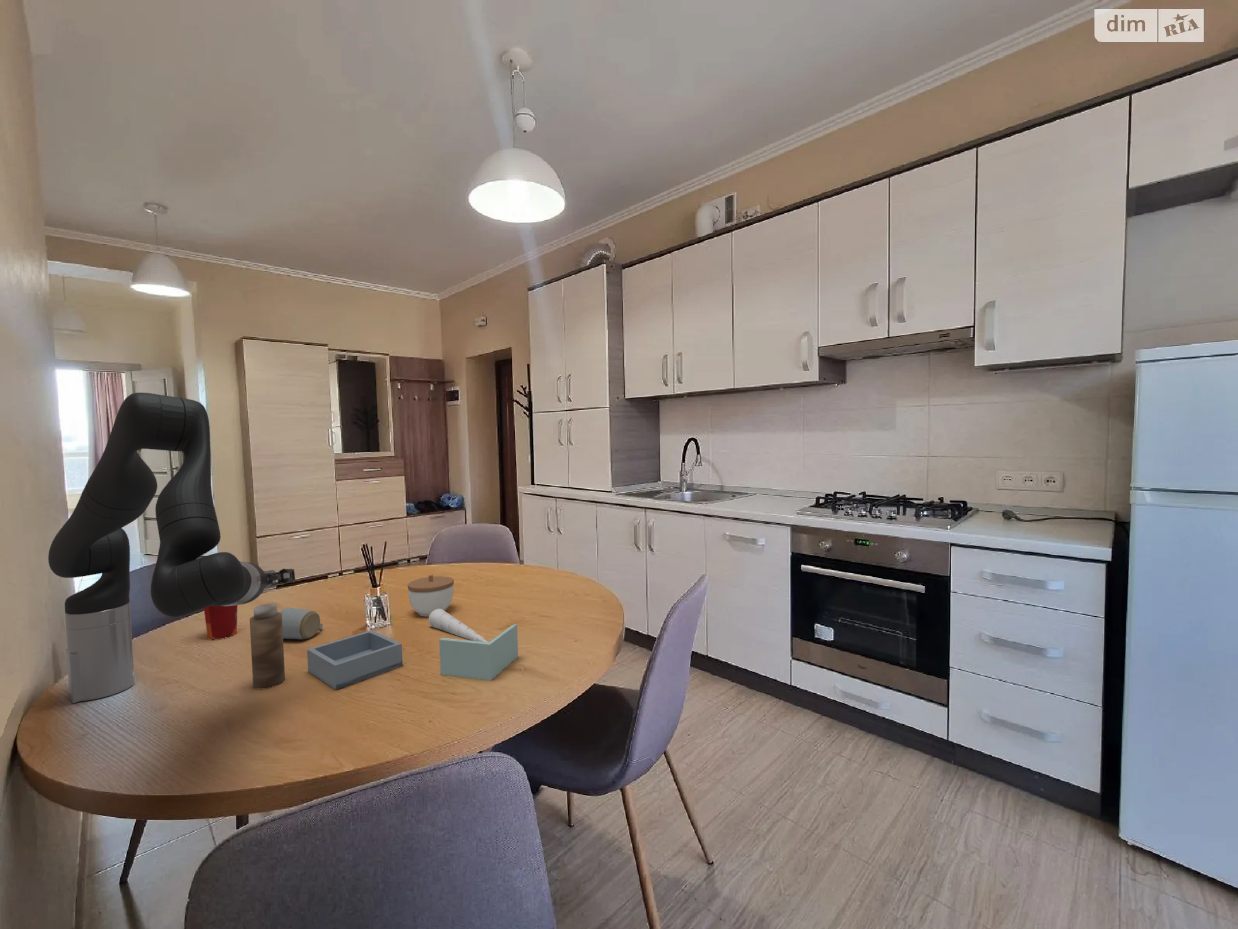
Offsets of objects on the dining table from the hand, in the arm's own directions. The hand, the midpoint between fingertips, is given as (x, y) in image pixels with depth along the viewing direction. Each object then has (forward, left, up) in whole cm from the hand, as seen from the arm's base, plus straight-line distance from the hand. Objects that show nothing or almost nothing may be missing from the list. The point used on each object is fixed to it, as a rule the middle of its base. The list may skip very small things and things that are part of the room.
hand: (258, 583), depth 104 cm
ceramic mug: (+16, +26, -22) cm, 38 cm away
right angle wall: (+33, -27, -22) cm, 48 cm away
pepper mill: (+2, +2, -22) cm, 22 cm away
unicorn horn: (+42, -6, -22) cm, 48 cm away
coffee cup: (+4, +44, -22) cm, 49 cm away
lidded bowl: (+47, +15, -22) cm, 53 cm away
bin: (+16, -6, -22) cm, 27 cm away
